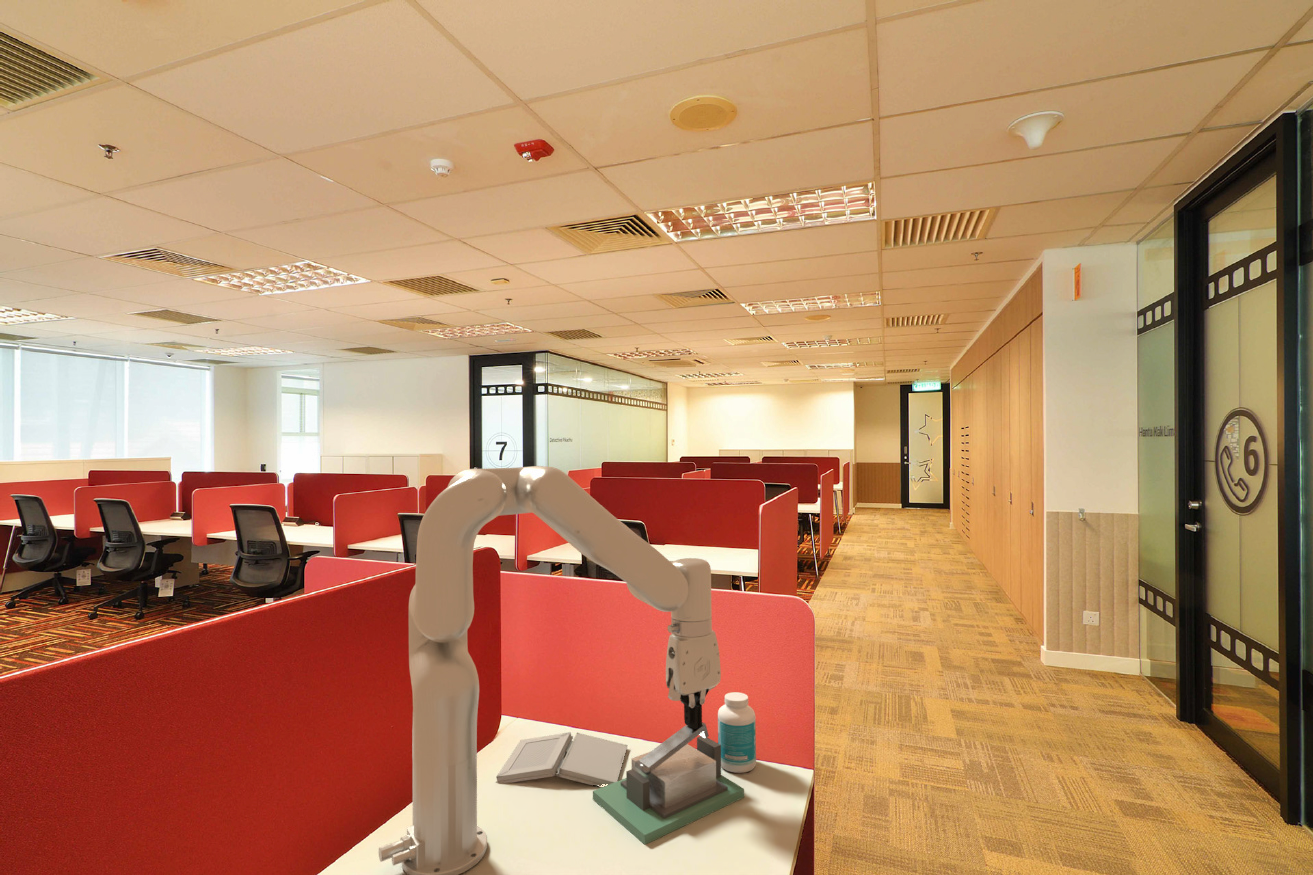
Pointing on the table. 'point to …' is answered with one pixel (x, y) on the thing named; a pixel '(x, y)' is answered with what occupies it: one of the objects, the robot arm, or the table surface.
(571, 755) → the gadget
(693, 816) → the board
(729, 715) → the pill bottle
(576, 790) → the table surface
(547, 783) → the table surface
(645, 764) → the strap
